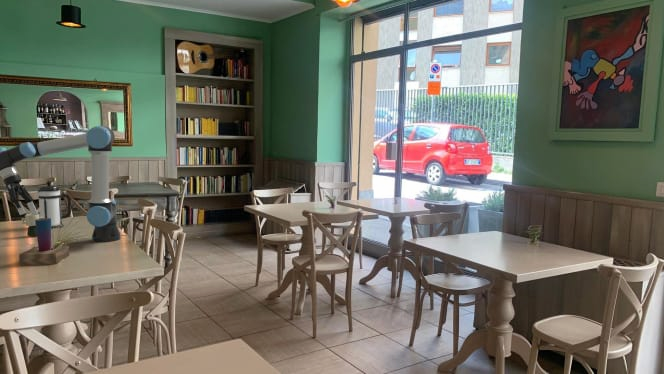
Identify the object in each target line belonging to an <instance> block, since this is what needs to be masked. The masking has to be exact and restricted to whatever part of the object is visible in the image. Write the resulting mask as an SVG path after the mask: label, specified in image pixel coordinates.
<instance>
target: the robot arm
mask: <svg viewBox="0 0 664 374" xmlns="http://www.w3.org/2000/svg"><path fill="white" fill-rule="evenodd" d="M115 139H116V138H115V133H114V131H113V130H112V129H111V128H110V127H108V126H104V125H102V126H101V125H97V126H93V127H91V128H90V129H89V130H88V131H86V133H82V134H75V135H71V136H70V135H69V136H65V137H60V138H55V139H51V140H45V141H40V142H34V143H31V141H30V142H29V141H27V142H23V143H20V144H18V145H16V146H13V147H12V148H9V149H7V148H6V147H0V177H1V178H2V179H3V183H4V185H5V186H6V188H7V191H8V194H9V195H8V196H9V200H10V203H11V204H12V205H15V208H16V210H17V212H18V213H19V216H22V215H25V214H26V213H27V212H26V210H25V208H24V206H23V204H22V201H20V198H19V197H21V198H22V199H23V200H24V201H25V202H26V205H27V207H28V209H29V211H30V214H32V215H33V214H38V210H37V208H36V206H35V204H34V201H35V200H34V198H33V197H32V195H31V194H30V192H29V191H28V190H27V189H26V187H25V186H24V184H22V185H21V182H23V181H22V178H21V176H20V174H19V172H18V170H17V167H16V166H15V164H17V163H18V162H21V161H23V160H27V159H35V158H39V157H43V156H48V155H52V154H58V153H63V152H69V151H73V150H79V149H84V148H87V149H88V150H87V151H88V153H89V154H90V155H91V157H90V158H91V160H90V161H91V168H90V169H91V198H90V199H89V200H88V209H87V212H86V218H87V219H86V220H87V221H88V223H89V224H90V225H92V226H93V227H94V229H93V232H92V234H91V241H92V242H99V243H103V242H114V241H118V240H121V238H122V237H121V236H122V235H121V232H120V230H119V228H118V223H117V221H118V220H117V202H116V200H115V199H110V163H109V162H110V161H109V160H110V154H111V153H112V152H113V143H114V141H115Z"/></svg>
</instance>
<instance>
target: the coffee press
mask: <svg viewBox="0 0 664 374" xmlns="http://www.w3.org/2000/svg"><path fill="white" fill-rule="evenodd" d="M51 183H52V182H51V181H49V180H48V181H47V182H46V184H44V185H43V184H42V185H40V186H39V187H38V189H37V192H36V193H35V195H36V196H37V198H38V205H39V206H38V207H39V217H43V218H51V227H60V228H63V227H64V226H65V225H64V224H63V223H62V222H63V221H62V220H63V219H68V218H69V217H71V215H72V214H71V213H72V204H71V203H72V202H71V197H70V196H69V195H68V194H66V193H61V189H62V188H60V186H59V185H56V184H51ZM63 197H65V198H66V203H67V214H65V215H62V205H61V198H63Z"/></svg>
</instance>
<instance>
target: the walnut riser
mask: <svg viewBox="0 0 664 374" xmlns="http://www.w3.org/2000/svg"><path fill="white" fill-rule="evenodd" d="M52 246H53V245H51V247H52ZM60 246H61V247H60V248H57V249H54V250H48V251H39V247H38V246H33V247H31V248H29V249H28V250H26V251H23V252H21V253H20V254H19V255H18V258H19V265H20V266H29V265H31V266H32V265H34V266H35V265H58V264H59V263H60V262H62V261H63V260H64V259H66V258H68V257H69V256H70V247H69V245H60Z"/></svg>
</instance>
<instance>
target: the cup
mask: <svg viewBox="0 0 664 374" xmlns="http://www.w3.org/2000/svg"><path fill="white" fill-rule="evenodd" d="M35 224H36V232H37V236H36V237H37V238H36V239H37V240H36V241H37V245H38V246H37V247H39V251H48V250H51V246H52V226H51V218H40V219H35Z"/></svg>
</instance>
